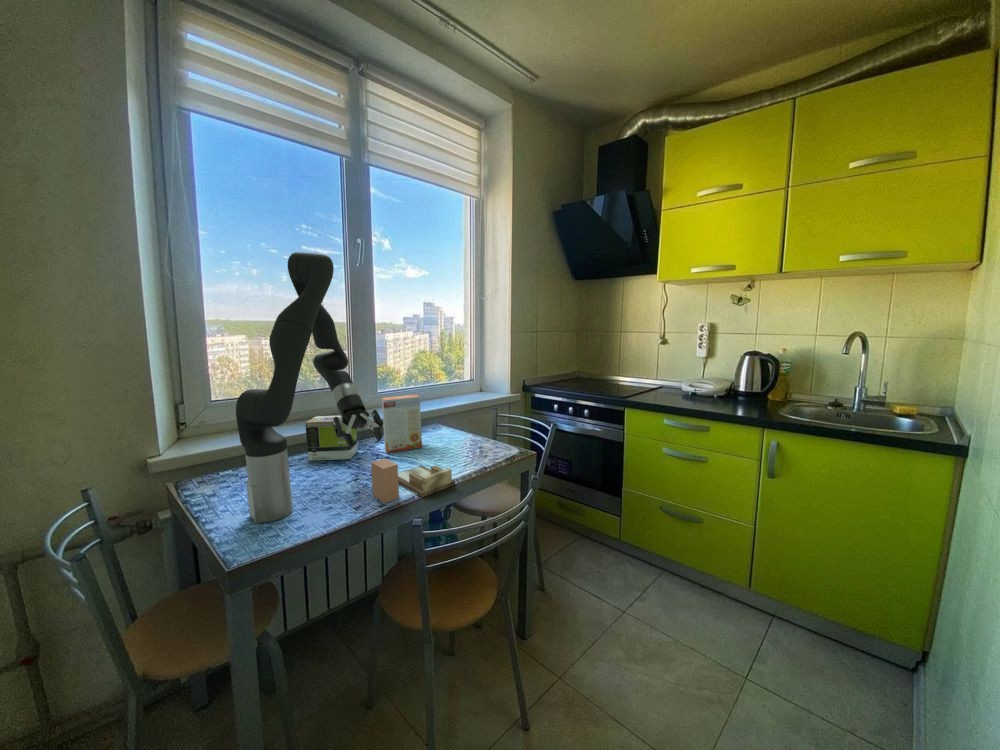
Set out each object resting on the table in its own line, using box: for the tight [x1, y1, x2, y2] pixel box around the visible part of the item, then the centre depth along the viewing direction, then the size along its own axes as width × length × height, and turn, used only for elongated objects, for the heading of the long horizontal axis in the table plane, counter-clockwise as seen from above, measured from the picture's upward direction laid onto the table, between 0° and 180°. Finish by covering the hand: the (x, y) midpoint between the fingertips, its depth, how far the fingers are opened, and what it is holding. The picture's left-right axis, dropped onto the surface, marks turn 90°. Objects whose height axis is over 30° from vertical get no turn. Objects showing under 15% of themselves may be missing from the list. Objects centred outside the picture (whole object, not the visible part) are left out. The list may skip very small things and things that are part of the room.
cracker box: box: [381, 394, 423, 453], centre depth 151 cm, size 14×6×21 cm, turn 114°
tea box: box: [304, 414, 358, 461], centre depth 143 cm, size 15×10×15 cm, turn 94°
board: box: [398, 465, 456, 498], centre depth 120 cm, size 12×18×5 cm, turn 45°
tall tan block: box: [370, 458, 400, 504], centre depth 110 cm, size 4×7×10 cm, turn 45°
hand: (366, 443), depth 116 cm, fingers open, 8 cm apart
